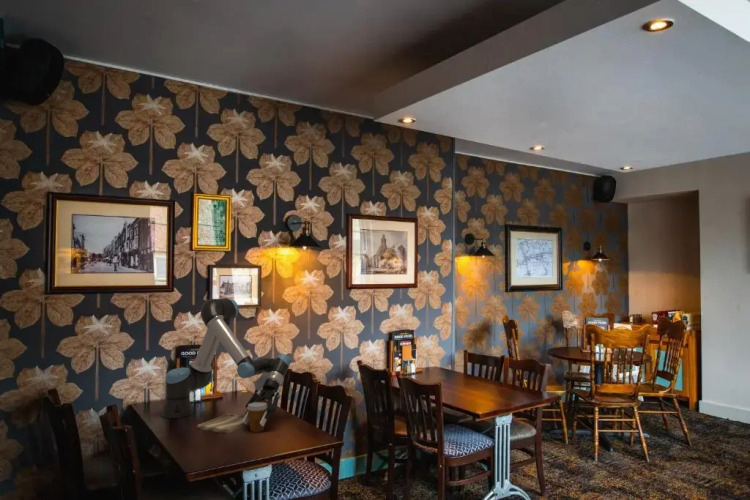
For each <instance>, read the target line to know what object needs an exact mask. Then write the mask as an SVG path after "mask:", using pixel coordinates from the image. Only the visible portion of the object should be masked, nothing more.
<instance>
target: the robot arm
mask: <svg viewBox="0 0 750 500" xmlns="http://www.w3.org/2000/svg"><path fill="white" fill-rule="evenodd" d="M238 314H239V305H238V303H237V302H236V300H235V299H233V298H230V297H229V298H228V297H223V298H210V299H207V300H205V301H204V302H203V304H202V306H201V308H200V317H201V320H202V322H203V324H204V325H205V326H206V328H207V329H206V332H205V333H204V337H203V339H202V342H201V345H200V347H199V350H198V352H197V355H196V357H195V360H193V361H191V362H190V364H189V367H179V368H174V369H170V370H169V371H167V373H166V378H165V402H164V405H163V409H162V412H161V416H162V418H165V419H180V418H186V417H189V416H192V415H193V413H194V411H193V409H194V408H193V407H192V403H191V399H190V395H191V392H192V391H196V390H200V389H203V388H206V387H208V386H209V385H210V384H211V382H212V380H213V370H212V369H213V367H212V366H211V364H212V362H213V359H214V356H215V355H216V352H217V350H218V347H219V344H221V345H222V347H223V348H224V349H225V351H226V352H227V353H228V355H229V356H230V358H231V359H232V361H233V362H234V364H236V366H237V368H236V371H237V375H238V377H240V378H241V379H250V378H252V377H255V376H258V375H262V374H268V375H267V377H266V379H265V381H264V383H263V385H262V389H261V390H258V389H255V391H254V394H253V395H252V396H251V397H250V399H249V400H248V402H246V405H245V408H246V412H245V414H244V416H245V418H244V420H243V422H244V423H245V424H247V423H248V421H249V413H248V409H247V407H248V404H250V403H254V402H263V401H267V406H268V407H267V410H266V411H265V413H264V415H263V417H262V419H261V421H260V424H261V426H264V424H265V425H266V422H267V420H269V418H270V416H271V415H272V414H275V413H276V412H277V409H278V408H277V407H278V404H279V400H280V398H281V394H280V392H279V391H278V390H279V389H280V386H281V384H282V382H283V380H284V378H285V376H286V374H287V372H288V370H289V369H290V365H291V364H292V359H291V358H290V356H288V355H287V354H285V353H280V354H278V356H276V358H275V357H274V358H272V357H263V356H262V357H261V356H260V357H259V356H257V357H255V358H254V359H252V357H251V356H250V355H249V354H250V353H248V351H247V350H246V349H245V348H244V346H243V345H242V344H241V342H240V341H239V339H238V338H237V337H236V335H235V334H234V332H233V331H232V330H231V328H230V327H229V326H230V324H231V321H232V320H234V319H236V317H238ZM264 427H265V426H264Z"/></svg>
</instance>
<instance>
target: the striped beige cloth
mask: <svg viewBox="0 0 750 500" xmlns="http://www.w3.org/2000/svg"><path fill="white" fill-rule="evenodd" d="M244 418H245V415H241V414H235V413H225V414H223V415H220V416H218V417H214V418H213V419H210V420H207V421H205V422H202V423H200V424H197V430H202V431H207V432H215V433H221V434H227V435H228V434H230V433H232V432H235V431H239V430H240V429H242V428H244V427H247V426H250V422H249V421H248V423H247V424H245V423H244V422H243V420H244Z"/></svg>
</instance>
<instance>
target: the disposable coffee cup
mask: <svg viewBox="0 0 750 500" xmlns="http://www.w3.org/2000/svg"><path fill="white" fill-rule="evenodd" d="M267 408H268V402H263V401H261V402H254V403H250V404H248V407H247V408H246V410H247V409H248V413H249V422H250V424H249V428H250V430H249V431H250V432H252V433H258V432H262V431H264V430H265V425H266V423H265V424H264V426H261V424H260V421H261V419H262V417H263V415H264V413H265V411H267Z"/></svg>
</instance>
